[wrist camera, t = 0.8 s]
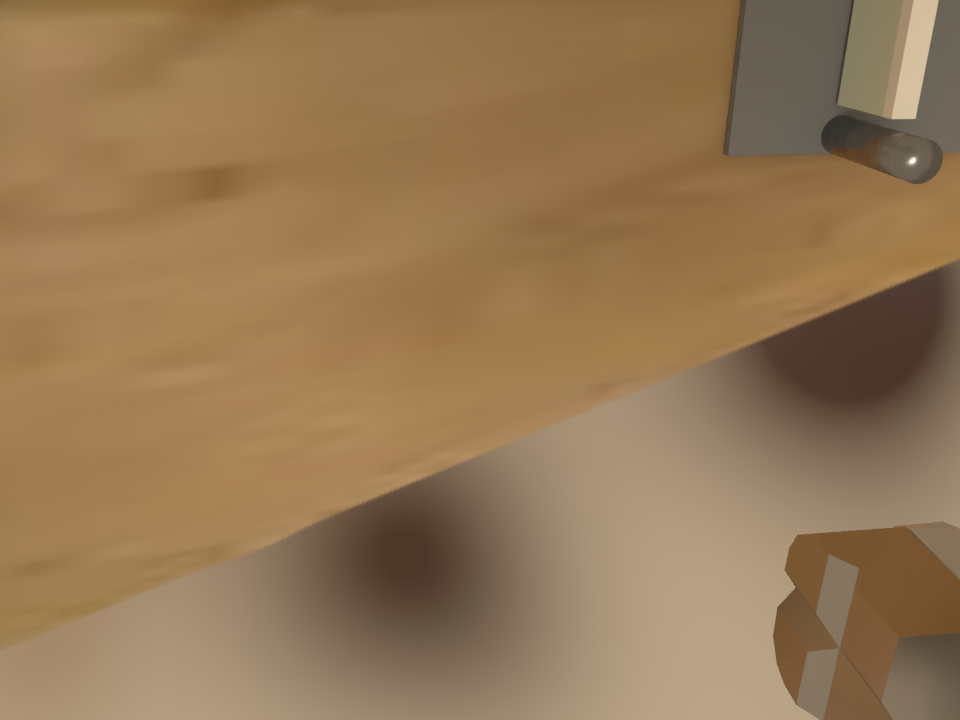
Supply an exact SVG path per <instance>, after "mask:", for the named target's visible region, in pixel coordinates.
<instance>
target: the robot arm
mask: <svg viewBox="0 0 960 720" xmlns="http://www.w3.org/2000/svg"><path fill="white" fill-rule="evenodd" d="M785 571H786V573H787V574H788V576H789V578H790V579H791V581H792V582H793V584H794V585H795V587H796V588H795V589H794V590H793V591H792V592H791V593H790V594H789V595H788V596H787V598H786V599H785V600H784V601H783V602H782V603H781V604H780V605H779V606H778V608H777V614H776V620H775V627H774V633H773V638H774V646H775V654H776V661H777V666H778V668H779V671H780V674H781V677H782V679H783V682H784V685H785V686H786V688H787V690H788V692H789V693H790V695H791V696H792V698H793V700H794V701H795V703H796V705H798V706H799V707H801V708H802V709H804V710H806V711H807V712H809V713H810V714H812V715H813V716H815V717H817V718H818V719H820V720H960V529H959V528H958V527H955V526H952V525H950V524H947V523H944V522H933V523H922V524H913V525H901V526H894V527H893V528H884V529H870V530H857V531H842V532H828V533H815V534H802V535H797V537H796V538H795V540H794V542H793V543H792V545H791V546H790V548H789V552H788V557H787V562H786V566H785Z"/></svg>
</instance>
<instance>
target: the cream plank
mask: <svg viewBox="0 0 960 720" xmlns="http://www.w3.org/2000/svg"><path fill="white" fill-rule="evenodd" d="M938 1H939V0H854V5H853V11H852V18H851V24H850V30H849V36H848V42H847V48H846V55H845V61H844V67H843V73H842V79H841V85H840V92H839V98H838V104H837V105H840V106H844V107H848V108H852V109H855V110H859V111H863V112H867V113H870V114H874V115H878V116H881V117H885V118H889V119H916V114H917V108H918V103H919V98H920V93H921V88H922V83H923V78H924V73H925V68H926V63H927V57H928V52H929V47H930V42H931V37H932V32H933V27H934V22H935V17H936V12H937V6H938Z"/></svg>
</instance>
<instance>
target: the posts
mask: <svg viewBox="0 0 960 720" xmlns="http://www.w3.org/2000/svg"><path fill="white" fill-rule="evenodd" d="M821 143H822V146H823V147H824V149H825V150H826V151H827V152H829V153H831V154H834V155H837V156H839V157H842V158H845V159H848V160H850V161H853V162H856V163H858V164H861V165H864V166H866V167H869V168H872V169H875V170H877V171H880V172H883V173H885V174H888V175H891V176H893V177H896V178H899V179H902V180H904V181H907V182H910V183H913V184H921V183H925V182H927V181H929V180H930V179H931V178H933V177H934V176H935V175H936V173H937V172H938V171H939V169H940V167H941V164H942V159H943V154H942V150H941V148H940V146H939V145H938V144H937V143H936V142H934V141H932V140H929V139H926V138H922V137H919V136H915V135H912V134H908V133H905V132H901V131H898V130H894V129H891V128H887V127H884V126H880V125H877V124H873V123H869V122H866V121H862V120H859V119H855V118H852V117H848V116H844V115H841V116H837V117H834V118H832V119H831V120H830V121H829V122H828V123H827V124H826V125H825V127H824V128H823V131H822V134H821Z"/></svg>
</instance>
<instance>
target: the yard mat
mask: <svg viewBox="0 0 960 720" xmlns="http://www.w3.org/2000/svg"><path fill="white" fill-rule="evenodd" d="M853 5H854V0H742V1H741V9H740V18H739V26H738V35H737V43H736V52H735V61H734V69H733V78H732V86H731V95H730V103H729V112H728V121H727V129H726V138H725V146H724V154H725V155H728V156H746V155H812V154H831V153H829V152H827V151H826V150H825V149H824V147H823V146H822V143H821V134H822V131H823V128H824V127H825V125H826V124H827V123H828V122H829V121H830V120H831V119H832V118H834V117H837V116H841V115H844V116H848V117H852V118H855V119H859V120H862V121H866V122H869V123H873V124H877V125H880V126H884V127H887V128H891V129H894V130H898V131H901V132H905V133H908V134H912V135H915V136H919V137H922V138H926V139H929V140H932V141H934V142H936V143H937V144H938V145H939V146H940V148H941V150H942V153H945V152H960V0H939V1H938V6H937V12H936V17H935V22H934V27H933V32H932V37H931V42H930V47H929V52H928V57H927V63H926V68H925V73H924V78H923V83H922V88H921V93H920V98H919V103H918V108H917V114H916V119H889V118H885V117H881V116H878V115H874V114H870V113H867V112H863V111H859V110H855V109H852V108H848V107H844V106H840V105H837V104H838V98H839V92H840V85H841V79H842V73H843V67H844V61H845V55H846V48H847V42H848V36H849V30H850V24H851V18H852V11H853Z"/></svg>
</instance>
